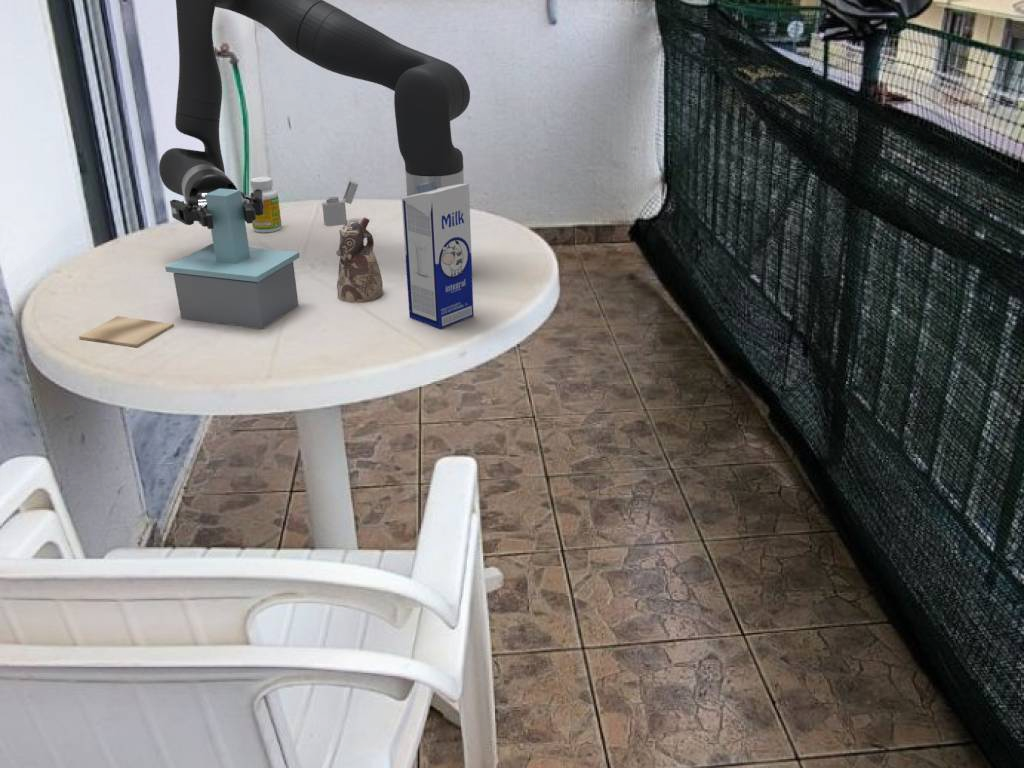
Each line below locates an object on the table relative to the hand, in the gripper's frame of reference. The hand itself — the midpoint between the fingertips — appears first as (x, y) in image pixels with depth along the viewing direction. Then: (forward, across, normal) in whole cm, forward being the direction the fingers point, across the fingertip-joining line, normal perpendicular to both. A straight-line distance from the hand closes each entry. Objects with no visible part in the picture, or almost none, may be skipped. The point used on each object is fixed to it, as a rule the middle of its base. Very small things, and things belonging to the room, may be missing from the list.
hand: (230, 219), depth 134 cm
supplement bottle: (-44, +13, +15) cm, 49 cm away
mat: (-2, -16, +15) cm, 22 cm away
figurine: (-1, +18, +15) cm, 24 cm away
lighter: (-42, +28, +15) cm, 52 cm away
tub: (-3, 0, +15) cm, 15 cm away
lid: (-3, 0, +8) cm, 8 cm away
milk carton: (+14, +26, +15) cm, 33 cm away
